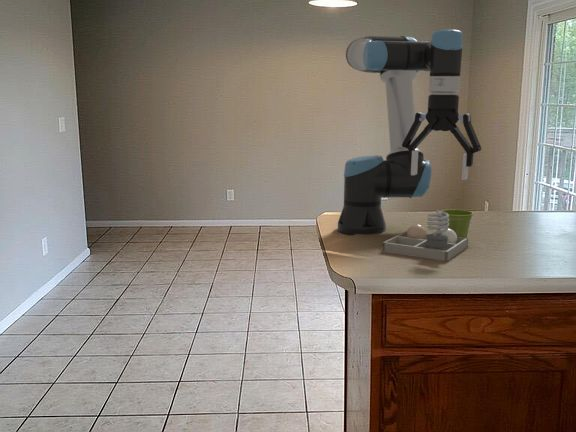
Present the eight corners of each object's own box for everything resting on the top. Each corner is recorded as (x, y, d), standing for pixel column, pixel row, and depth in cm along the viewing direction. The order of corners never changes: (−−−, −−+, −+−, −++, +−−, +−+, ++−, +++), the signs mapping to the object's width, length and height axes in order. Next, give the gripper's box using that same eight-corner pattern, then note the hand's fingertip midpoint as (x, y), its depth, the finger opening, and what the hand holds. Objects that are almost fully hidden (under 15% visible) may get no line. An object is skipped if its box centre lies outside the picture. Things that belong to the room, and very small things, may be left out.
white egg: (432, 248, 165) (433, 228, 164) (439, 244, 169) (440, 225, 168) (452, 251, 162) (454, 231, 161) (459, 247, 166) (460, 227, 165)
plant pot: (433, 241, 176) (434, 212, 174) (447, 235, 183) (448, 207, 181) (463, 246, 170) (465, 216, 168) (476, 240, 177) (478, 211, 175)
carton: (382, 253, 162) (382, 242, 161) (407, 240, 176) (407, 230, 176) (446, 263, 152) (447, 251, 152) (467, 249, 167) (468, 238, 166)
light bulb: (443, 258, 154) (446, 213, 152) (422, 255, 157) (424, 210, 155) (450, 254, 159) (452, 209, 157) (429, 251, 162) (431, 207, 160)
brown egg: (403, 244, 169) (404, 225, 168) (410, 240, 174) (411, 221, 173) (422, 247, 166) (423, 227, 165) (429, 243, 171) (430, 224, 170)
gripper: (392, 93, 155) (388, 174, 160) (489, 94, 142) (483, 183, 146) (403, 93, 161) (399, 171, 166) (498, 94, 148) (491, 179, 152)
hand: (438, 177), depth 156 cm, fingers open, 13 cm apart
